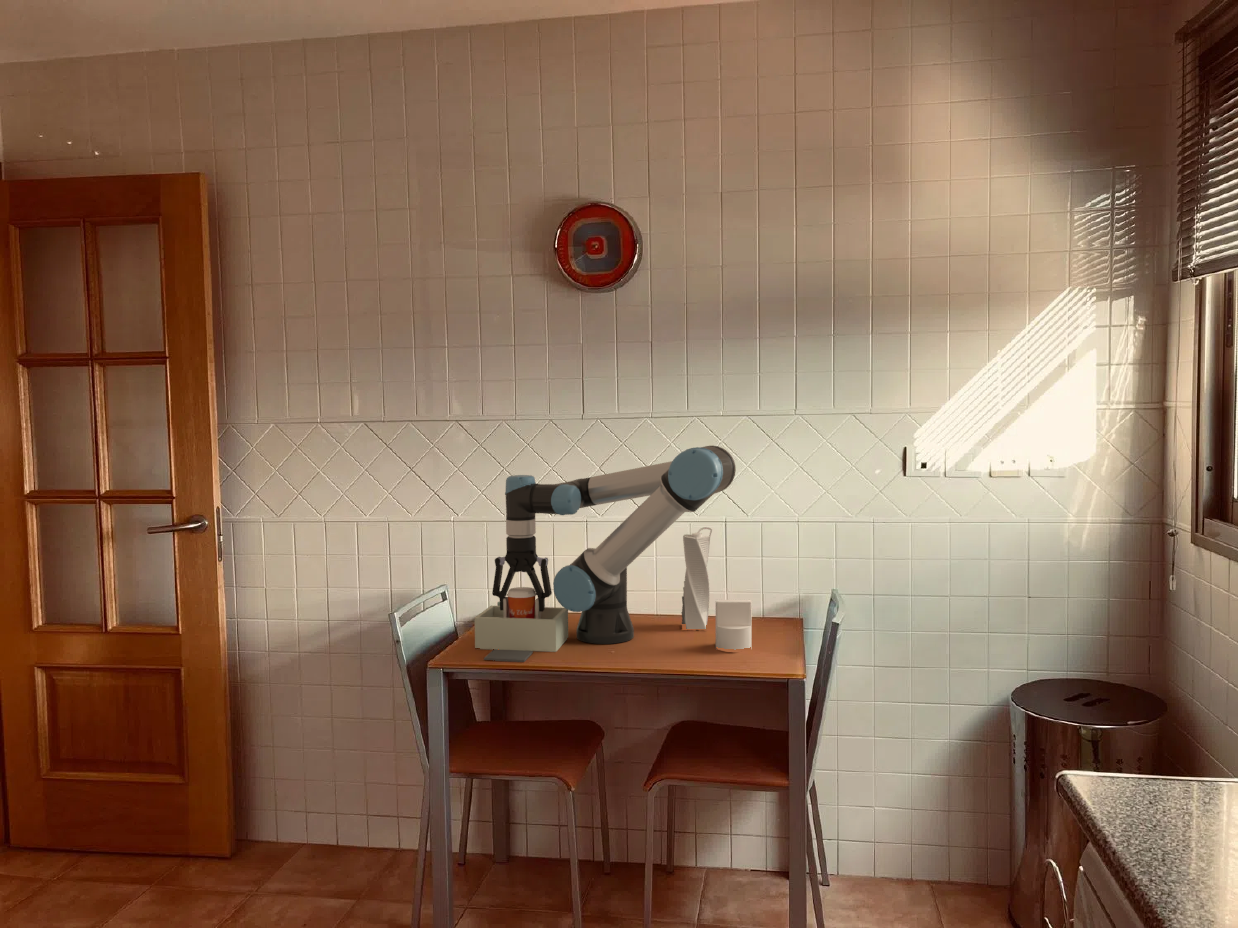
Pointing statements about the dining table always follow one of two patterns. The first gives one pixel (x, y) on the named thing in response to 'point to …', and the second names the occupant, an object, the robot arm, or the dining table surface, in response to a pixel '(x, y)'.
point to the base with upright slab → (733, 624)
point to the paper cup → (521, 602)
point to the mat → (508, 655)
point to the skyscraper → (696, 581)
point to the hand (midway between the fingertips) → (522, 623)
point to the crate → (521, 630)
